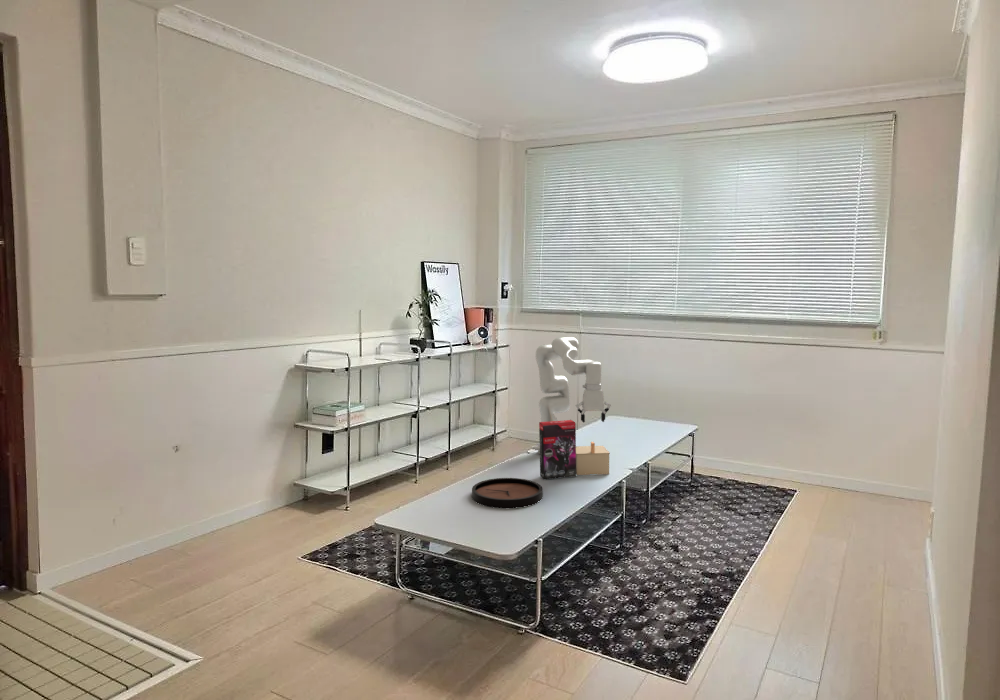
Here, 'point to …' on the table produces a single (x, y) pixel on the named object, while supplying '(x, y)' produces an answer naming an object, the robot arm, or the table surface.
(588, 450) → the flap
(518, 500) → the wall clock
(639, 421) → the table surface
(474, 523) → the table surface
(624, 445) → the table surface
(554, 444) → the graphics card box
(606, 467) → the carton
